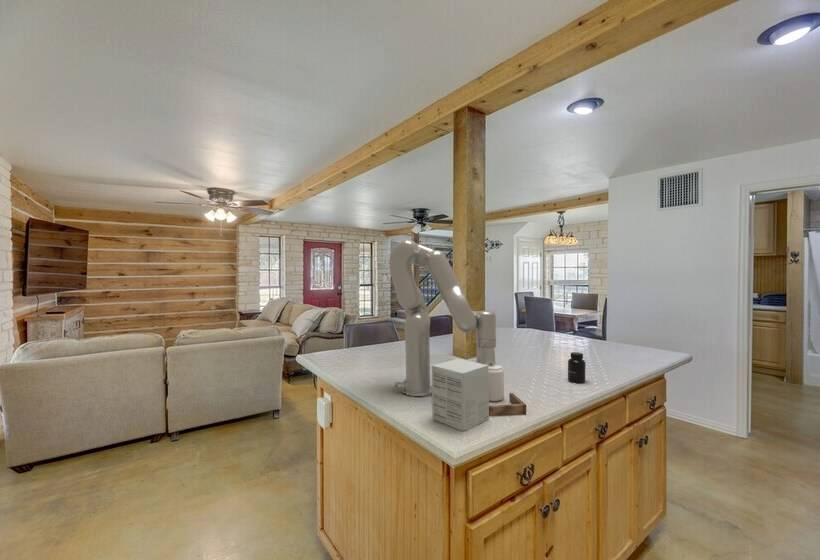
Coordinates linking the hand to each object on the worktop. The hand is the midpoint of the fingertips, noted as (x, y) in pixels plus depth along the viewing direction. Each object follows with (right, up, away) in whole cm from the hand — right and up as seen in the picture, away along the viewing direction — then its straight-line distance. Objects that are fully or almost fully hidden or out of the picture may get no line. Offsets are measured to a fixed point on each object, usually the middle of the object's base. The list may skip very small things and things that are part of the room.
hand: (486, 389), depth 141 cm
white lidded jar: (+1, -2, -6) cm, 6 cm away
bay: (+1, -2, -16) cm, 16 cm away
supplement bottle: (+41, -1, +13) cm, 43 cm away
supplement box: (-14, -2, -25) cm, 28 cm away
